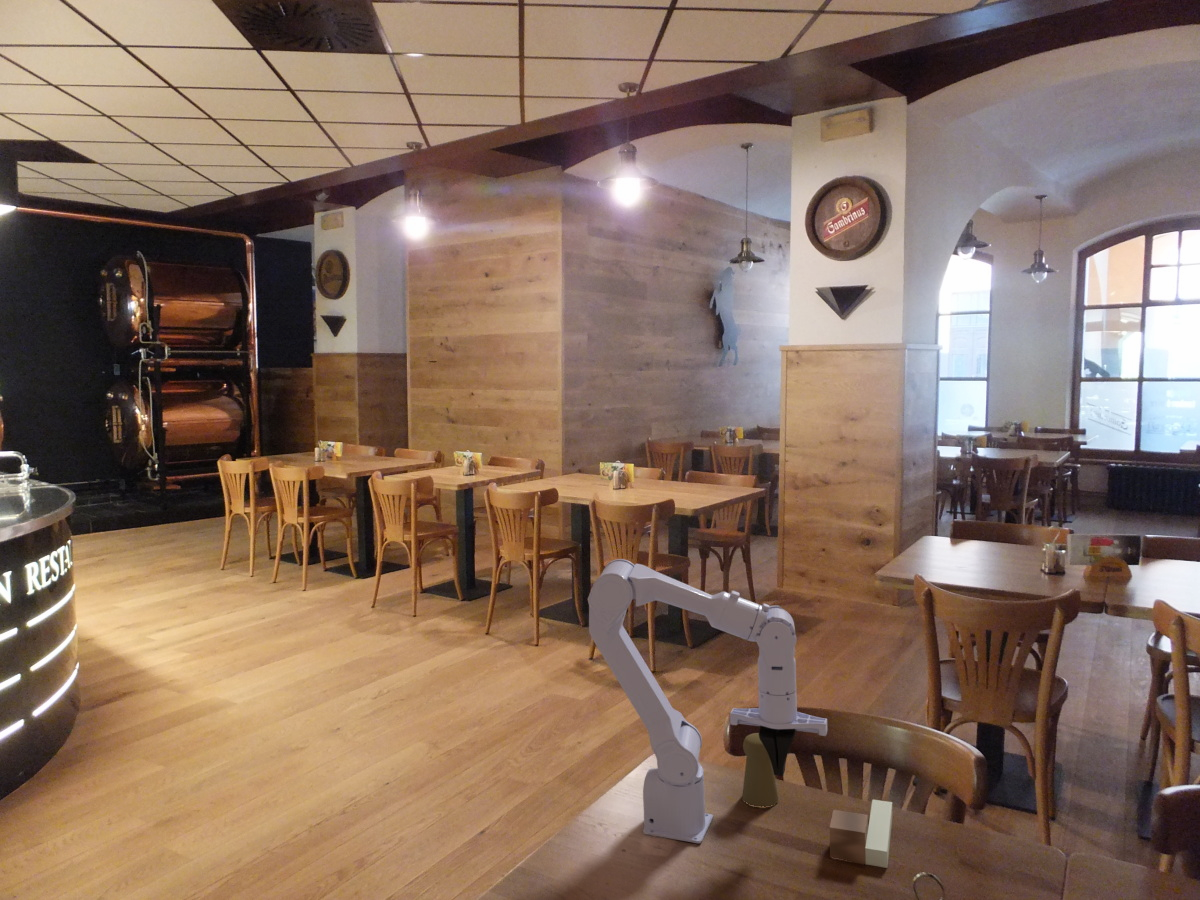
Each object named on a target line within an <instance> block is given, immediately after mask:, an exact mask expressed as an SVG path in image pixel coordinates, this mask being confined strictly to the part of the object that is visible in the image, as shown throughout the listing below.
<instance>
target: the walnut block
mask: <svg viewBox="0 0 1200 900" xmlns="http://www.w3.org/2000/svg"><path fill="white" fill-rule="evenodd" d="M831 815H832V816H831V820H830V823H829V858H830V857H833V858H839V859H843V860H847V861H851V862H850V863H853V862H856V864H859V863H860V865H864V864H865V866H866V865H867V864H866V856H865V847H866V840H867V834H868V827H869V815H868V814H863V813H859V812H851V811H846V810H838V809H833V810H832V813H831ZM847 861H846V862H847Z"/></svg>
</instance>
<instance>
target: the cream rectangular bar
mask: <svg viewBox="0 0 1200 900" xmlns="http://www.w3.org/2000/svg"><path fill="white" fill-rule="evenodd" d="M870 806H871V807H870V813H869V814H870V815H869V819H868V834H867V840H866V847H865V856H866V865H868V866H874V867H879V868H885V869H888V867H889V866H888V864H889V855H890V844H891V834H892V825H893V802H892V801H885V800H879V799H872V800H871V805H870Z"/></svg>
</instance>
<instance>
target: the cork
mask: <svg viewBox="0 0 1200 900" xmlns="http://www.w3.org/2000/svg"><path fill="white" fill-rule="evenodd" d="M742 748H743V753H744V755H746V759H745V760H746V761H745V768H744V775H743V787H742V794H741V796H742V797H743V799H742V801H743V800H744V801H745V802H747V803H748V804H750V805H754V806H761V807H762V806H764V807H766V806H771V805H774V804H776V803H777V801H778V799H779V794H778V793H779V792H778V788H777V781H776V775H774V772H773V767H772V764H771V761H770V758H769V755H768V753H767V751H766V749H765V747H764V745H763V743H762V742H761V740H760V738H759V732H753V733H750V734H747V735H746V736H745V737H744V739H743V744H742ZM744 801H743V802H744ZM778 802H779V801H778ZM777 804H778V803H777ZM777 804H776V805H777Z"/></svg>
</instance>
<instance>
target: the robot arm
mask: <svg viewBox="0 0 1200 900" xmlns="http://www.w3.org/2000/svg"><path fill="white" fill-rule="evenodd" d="M632 600H635V607H641V606H644V605H647V604H648V603H652V602H656V601H657V602H661V603H664V604H667V605H670V606H674V607H677V608H679V609H683V610H686V611H689V612H692V613H695V614H699V615H700V616H704V617H706V619H707V621H708V623H709V625H710V626H711V627H712V628H714V629H716V630H719V631H722V632H724V633H727V634H730V635H733V636H735V637H738V638H740V639H743V640H746V641H749V642H753V643H755V642H756V644H757V646H758V651H759V653H758V654H759V656H758V657H757V680H758V681H757V687H758V689H757V690H758V708H757V707H755V708H754V707H753V708H736V707H735V708H734V707H733V708H732V709H731V711H730V712H729V715H730V717H729V718H730V720H729V722H730V725H732V726H738V725H739V724H740V725H747V726H755V727H759V732H758V733H759V738H760V740H761V742H762V743H763V745H764V747H765V749H766V751H767V753H768V755H769V758H770V761H771V764H772V767H773V772H774V775H775V776H779V777H783V776H784V774H785V772H786V763H787V759H788V754H789V751H790V748H791V746H792V743H793V741H794V739H795V736H796V735H797V731H798V732H806V733H814V734H818V735H819V736H822V737H823V736H824V737H826V736H827V734H828V718H826V717H825V718H823V717H819V716H814V715H810V714H807V713H803V712H800V711H798V706H797V705H798V703H797V700H798V698H797V662H796V661H797V660H796V657H795V655H796V649H795V647H796V645H797V641H798V638H797V636H796V635H797V634H796V627H795V621H794V619H793V617H792V615H791V614H790V613H789V612H788V611H787V610H786V609H784V608H782V607H781V606H780V605H769V604H767V603H763V604H762V605H761V604H759V603H756V602H753V601H751V600H749V599H746V598H743V597H741V595H740V592H738V591H736V590H731V592H730V593H729V592H727V591H721V592H719V593H716V594H709V593H708V592H705V591H703V590H701V589H698V588H696V587H695V586H694V587H693V586H691V585H689V584H687V583H684V582H682V581H680V580H677V579H675V578H673V577H670V576H668V575H665V574H664V573H661V572H659V571H657V570H655V569H652V568H651V567H648V566H647V565H644V564H641V563H635V564H634V563H633V562H631V561H630V560H627V559H624V558H616V559H614V560H611V561H609V562H608V563H607V564H606V565H605V566H604V568H603V569H602V572H601V574H600V575H599V576H598V578H596V579H595V581H594V582H593V585H592V587H591V589H590V592H589V594H588V597H587V603H588V633H589V635H590V638H591V639H592V641H593V642H594V644H595V646H596V647H597V649H598V651H599V653H600V654H601V656H602V657H603V659H604V660H605V662H606V664H607V665H608V668H609V669H610V670H611V672H612V674H613V675H614V677H615V679H616V681H617V682H618V684H619V686H620V687H621V688H622V690H623V692H624V693H625V695H626V696H627V698H628V700H629V701H630V704H631V705H632V707H633V708H634V710H635V711H636V713H637V715H638V716H639V718H640V719H641V722H642V723H643V724H644V726H645V728H646V730H647V734H648V739H649V742H650V747H651V750H652V752H653V754H654V755H655V759H656V762H657V763H656V765H657V767H655V768H651V767H650V768H649V769H648V770H647V772H646V774H645V777H644V782H643V789H642V790H643V791H642V800H643V801H642V802H643V822H644V824H643V825H644V828H643V830H642V832H643V834H644V835H647V836H655V837H659V838H665V839H669V840H670V839H672V840H675V841H676V840H677V841H683V842H688V843H695V844H701V843H703V840H704V838H705V836H706V834H707V832H708V830H709V828H710V826H711V824H712V823H711V822H712V821H713V819H714V815H713V814H711V813H706V802H705V799H706V798H705V797H706V796H705V776H704V775H705V773H704V772H705V770H704V768H703V766H702V765H701V763H700V762H699V758H700V751H701V748H702V745H703V744H702V743H703V739H702V735H701V733H700V731H699V730H698V728H697V727H695V725H693V724H692V723H690V722H688V720H686V719H685V717H684V716H683V714H682V713H681V712H680V711H678V710H676V709H675V708H673V706H672V705H671V703H670V701H669V699H668V698H667V696H666V694H665V693H664V691H663V690H662V688H661V685H659V683H658V681H657V680H656V678H655V677H654V674H653V673H652V671H651V669H650V668H649V667H648V665H647V663H646V661H645V660H644V659H643V657H642V655H641V653H640V651H639V650H638V648H637V647H636V645H635V643H634V642H633V640H632V638H631V637H630V635H629V634H628V631H627V630H626V629H625V627H624V625H623V624H624V620H625V618H626V615H627V614H626V613H627V610H628V608H629V607H630V605H632V604H631V603H632Z"/></svg>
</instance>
